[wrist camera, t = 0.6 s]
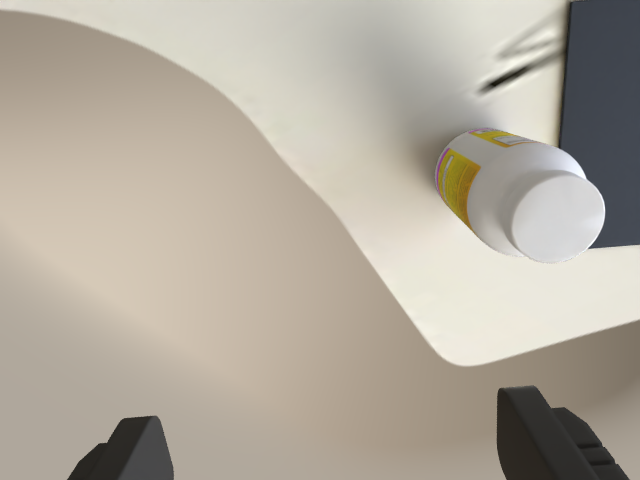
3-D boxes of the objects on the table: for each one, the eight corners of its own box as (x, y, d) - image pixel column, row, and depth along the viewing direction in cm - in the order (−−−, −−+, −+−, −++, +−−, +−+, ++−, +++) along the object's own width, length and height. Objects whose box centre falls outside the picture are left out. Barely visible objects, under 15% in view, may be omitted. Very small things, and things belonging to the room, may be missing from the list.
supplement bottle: (459, 229, 37) (526, 304, 24) (416, 160, 35) (465, 206, 23) (536, 181, 35) (647, 237, 23) (496, 108, 33) (592, 126, 21)
